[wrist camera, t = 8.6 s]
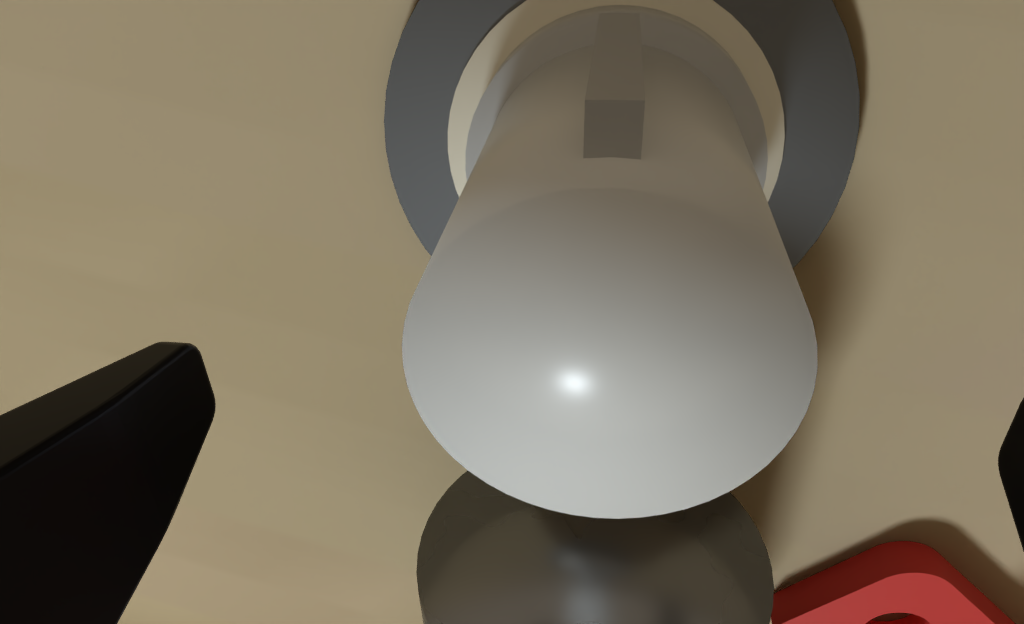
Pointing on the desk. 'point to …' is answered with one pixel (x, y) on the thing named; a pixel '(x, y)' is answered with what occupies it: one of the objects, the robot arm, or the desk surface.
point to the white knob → (613, 278)
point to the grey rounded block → (589, 564)
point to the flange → (705, 3)
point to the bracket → (887, 591)
